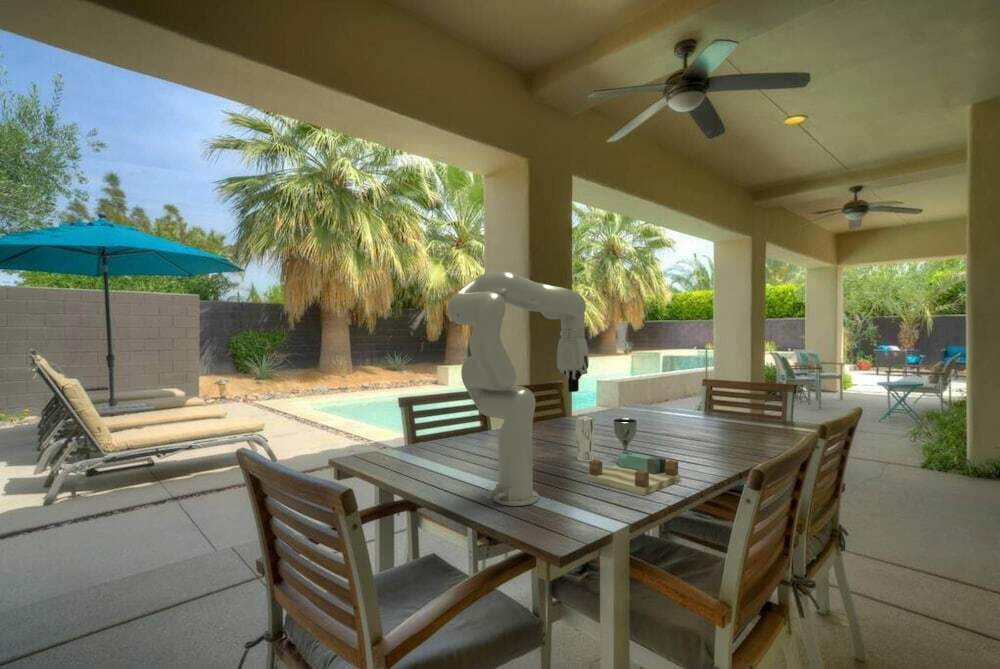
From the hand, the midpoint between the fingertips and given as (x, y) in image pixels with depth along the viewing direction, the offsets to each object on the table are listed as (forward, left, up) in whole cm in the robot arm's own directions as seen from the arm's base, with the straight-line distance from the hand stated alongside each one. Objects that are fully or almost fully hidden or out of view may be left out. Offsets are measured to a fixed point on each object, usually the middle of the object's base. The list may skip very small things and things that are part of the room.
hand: (573, 391), depth 165 cm
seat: (+8, -17, -27) cm, 33 cm away
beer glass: (+18, +10, -27) cm, 34 cm away
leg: (+14, -15, -25) cm, 32 cm away
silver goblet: (+24, -3, -27) cm, 36 cm away
